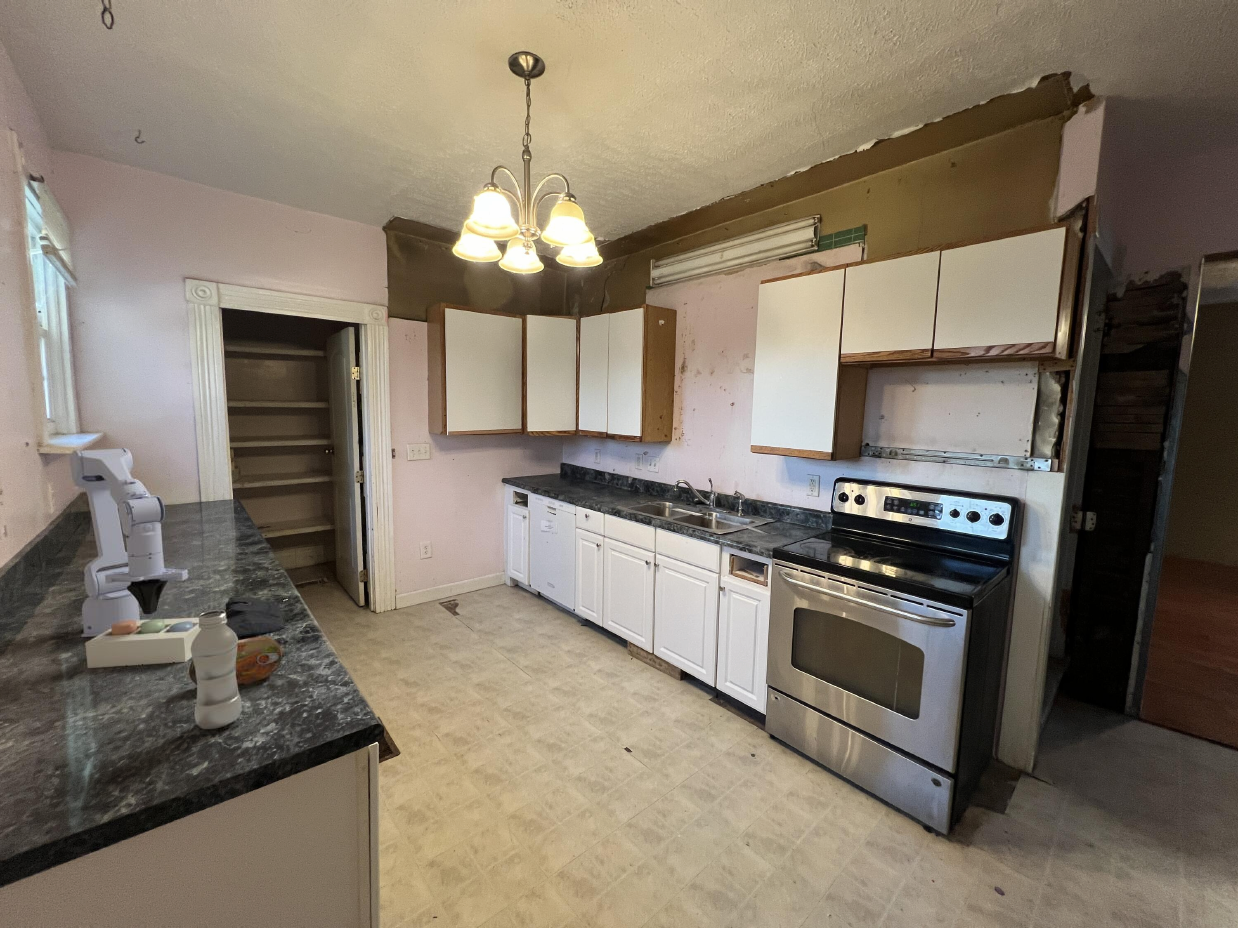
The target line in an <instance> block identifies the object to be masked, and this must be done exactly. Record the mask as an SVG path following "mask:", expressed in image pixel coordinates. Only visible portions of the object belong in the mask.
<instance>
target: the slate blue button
mask: <svg viewBox="0 0 1238 928" xmlns="http://www.w3.org/2000/svg"><path fill="white" fill-rule="evenodd" d="M169 628H170V632H187V631H189V630H190V629H191V628H193V622H190V621H186V622H179V623H176V624H173V625H171V626H170V627H169Z"/></svg>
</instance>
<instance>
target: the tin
mask: <svg viewBox="0 0 1238 928" xmlns="http://www.w3.org/2000/svg"><path fill="white" fill-rule="evenodd" d="M282 655H283V652H282V647H281V645H280V644H279V643H278V641H276V640H275V639H273V638H272V637H267V636H257V637H251V638H244V639H238V647H237V655H236V669H235V670H236V680H237V685H241V684H246V683H252V682H256V681H261V680H264V679H266V678H269V677H270V676H271V675H273V674H274V673H275V672H276V671H277V669H278V668H279V667H280V665H281V663H282ZM188 674H189V678H190V680H191V682H192V683H193V684H195V685H196V686H197V677H196V670H195V666H194V662H193V660H192V661H191V663H190V664H189V668H188Z"/></svg>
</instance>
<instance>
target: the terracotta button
mask: <svg viewBox="0 0 1238 928" xmlns="http://www.w3.org/2000/svg"><path fill="white" fill-rule="evenodd" d="M136 630H137V626H136V621H134V620H128V621H122V622H118V623H116V624H113V625H112V626H111V631H112V636H114V635H129V634H131V633H133V632H134V631H136Z"/></svg>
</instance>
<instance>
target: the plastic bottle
mask: <svg viewBox="0 0 1238 928" xmlns="http://www.w3.org/2000/svg"><path fill="white" fill-rule="evenodd" d="M198 618H199V628H201V630H200V632H199V633H198V634H197V636H196V637H195V639H194V640H193V642H192V645H191V654H192V657H191V659H192V661H193V662H194V666H195V670H196V677H197V685H196V687H197V688H196V704H195V706H194V714H193V715H194V720H195V722H196V723H195V724H196V726H198V727H200V728H201V729H203V730H214V729H219V728H223V727H225V726H228V725H230V724H232V723H234V722H235V721H236V720H237V719H238V718H239V716H240V715H241V712H242V706H243V702H242V698H241V694H240V691H239V687H238V684H237V680H236V670H235V669H236V655H237V647H238V640H239V637H237V635H236V633H235V632H234V631H233V630H232V629H230V628H229V627H228V626H226V623H227V618H226V612H225V611H224V610H222V609H220V610H219V609H218V610H217V609H215V610H210V611H207V612H203V613H201V614H199V615H198Z"/></svg>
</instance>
